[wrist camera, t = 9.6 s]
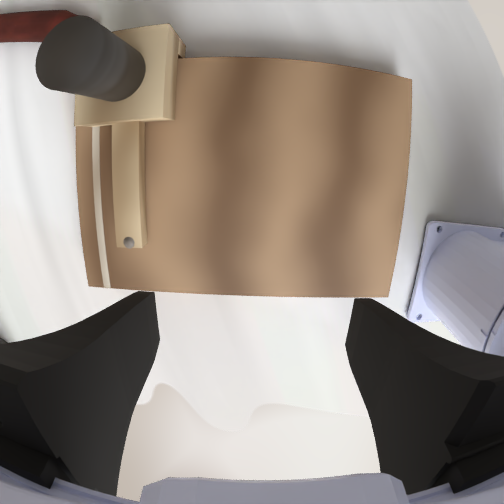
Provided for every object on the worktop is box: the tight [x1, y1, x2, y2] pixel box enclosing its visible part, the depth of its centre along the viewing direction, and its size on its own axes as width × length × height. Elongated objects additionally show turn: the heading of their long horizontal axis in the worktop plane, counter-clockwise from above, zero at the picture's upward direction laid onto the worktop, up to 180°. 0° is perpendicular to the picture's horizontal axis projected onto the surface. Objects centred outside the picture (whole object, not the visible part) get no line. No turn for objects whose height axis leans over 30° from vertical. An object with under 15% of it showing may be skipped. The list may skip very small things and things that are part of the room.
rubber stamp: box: [36, 16, 186, 249], centre depth 14 cm, size 5×12×9 cm, turn 178°
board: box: [76, 57, 412, 297], centre depth 18 cm, size 20×14×2 cm
